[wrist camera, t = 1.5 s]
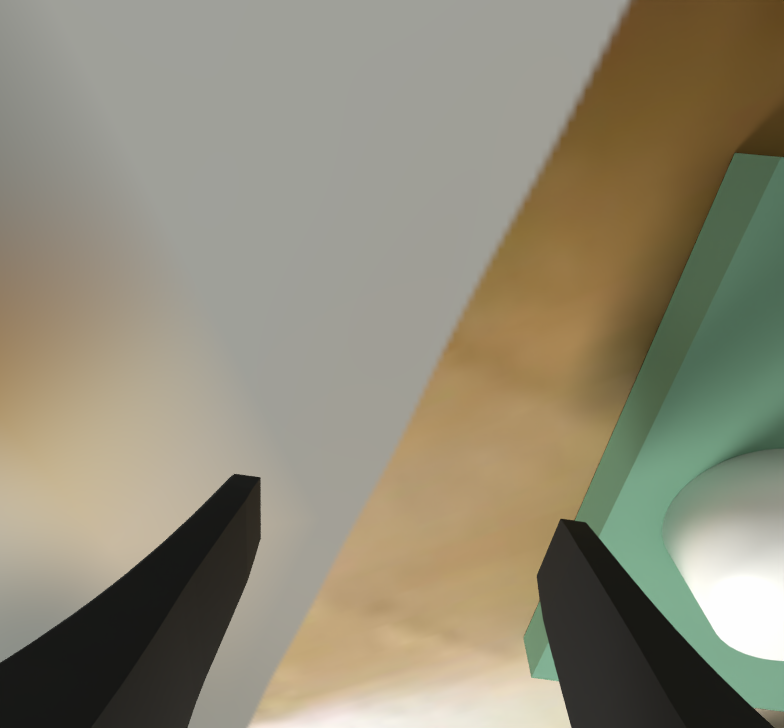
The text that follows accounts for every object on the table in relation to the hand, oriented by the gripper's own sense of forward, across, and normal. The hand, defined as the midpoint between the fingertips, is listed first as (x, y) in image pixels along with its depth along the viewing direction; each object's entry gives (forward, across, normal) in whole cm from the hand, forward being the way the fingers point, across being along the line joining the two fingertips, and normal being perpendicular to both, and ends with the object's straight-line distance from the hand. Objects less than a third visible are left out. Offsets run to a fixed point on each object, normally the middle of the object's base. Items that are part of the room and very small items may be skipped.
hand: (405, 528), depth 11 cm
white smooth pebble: (+2, -10, 0) cm, 10 cm away
